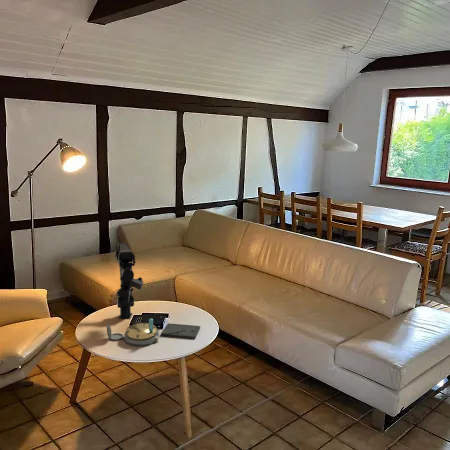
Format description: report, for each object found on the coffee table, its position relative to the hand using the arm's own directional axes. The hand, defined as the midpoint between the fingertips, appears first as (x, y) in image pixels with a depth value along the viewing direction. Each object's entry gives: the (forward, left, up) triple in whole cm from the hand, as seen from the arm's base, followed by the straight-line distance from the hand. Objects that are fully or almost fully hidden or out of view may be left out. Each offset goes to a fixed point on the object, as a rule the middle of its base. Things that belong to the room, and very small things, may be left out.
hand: (127, 303), depth 238 cm
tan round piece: (+15, +10, -11) cm, 21 cm away
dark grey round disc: (+14, +10, -13) cm, 22 cm away
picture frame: (+6, +29, -14) cm, 33 cm away
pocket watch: (+15, -4, -13) cm, 20 cm away
